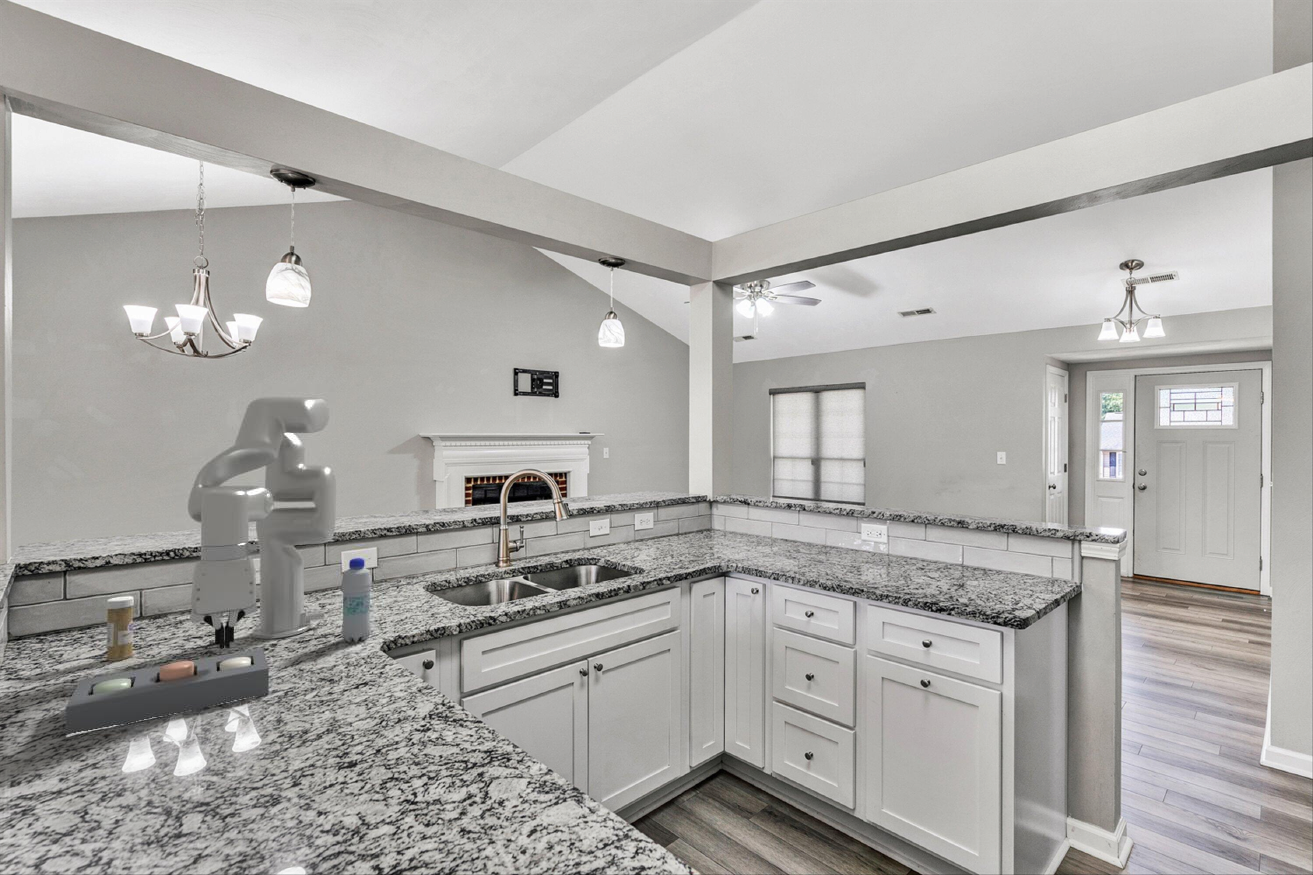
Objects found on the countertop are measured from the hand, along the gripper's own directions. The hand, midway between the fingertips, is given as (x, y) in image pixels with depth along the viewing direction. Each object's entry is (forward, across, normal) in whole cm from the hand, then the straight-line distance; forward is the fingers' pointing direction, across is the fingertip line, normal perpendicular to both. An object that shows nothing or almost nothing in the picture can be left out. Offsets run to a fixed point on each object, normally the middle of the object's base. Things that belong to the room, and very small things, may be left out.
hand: (224, 646), depth 116 cm
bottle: (+9, -27, -18) cm, 33 cm away
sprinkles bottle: (+9, +18, -36) cm, 41 cm away
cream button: (+7, -2, 0) cm, 7 cm away
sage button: (+7, +16, 0) cm, 18 cm away
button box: (+9, +7, 0) cm, 11 cm away
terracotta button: (+6, +7, 0) cm, 9 cm away
